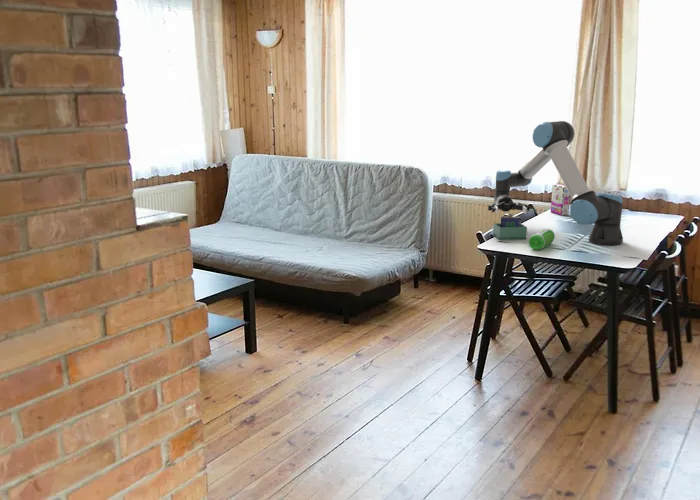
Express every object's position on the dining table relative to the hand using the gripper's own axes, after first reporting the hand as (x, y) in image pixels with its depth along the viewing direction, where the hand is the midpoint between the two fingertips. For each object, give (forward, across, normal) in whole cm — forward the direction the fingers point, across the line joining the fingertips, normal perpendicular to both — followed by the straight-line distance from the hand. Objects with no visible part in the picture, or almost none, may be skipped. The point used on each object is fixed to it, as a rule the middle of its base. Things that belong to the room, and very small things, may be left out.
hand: (511, 211), depth 318 cm
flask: (-3, 0, -13) cm, 13 cm away
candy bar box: (-63, -38, -14) cm, 75 cm away
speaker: (+16, -12, -14) cm, 24 cm away
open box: (-2, 0, -14) cm, 14 cm away
